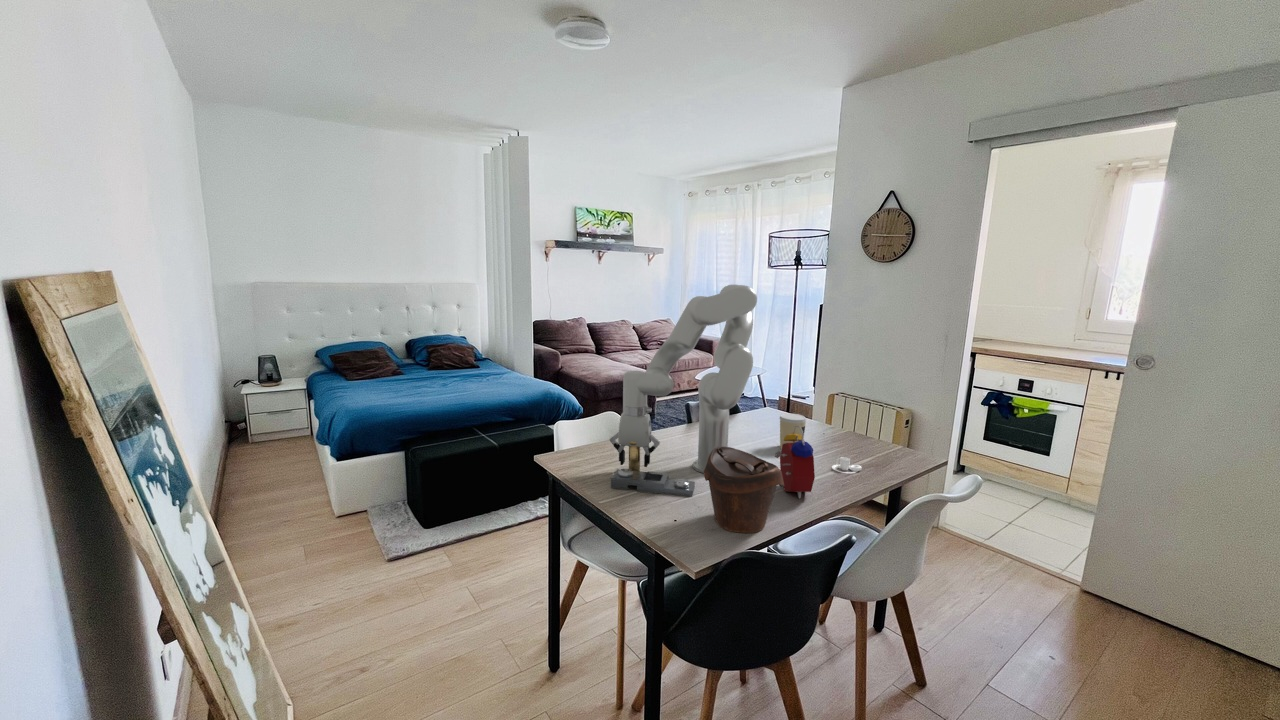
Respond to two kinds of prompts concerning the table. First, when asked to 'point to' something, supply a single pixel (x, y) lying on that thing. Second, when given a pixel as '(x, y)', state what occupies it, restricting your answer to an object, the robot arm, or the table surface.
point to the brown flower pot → (741, 488)
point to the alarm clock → (797, 464)
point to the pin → (634, 457)
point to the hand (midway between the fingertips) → (634, 464)
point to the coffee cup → (791, 426)
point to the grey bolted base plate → (651, 482)
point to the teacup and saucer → (846, 465)
